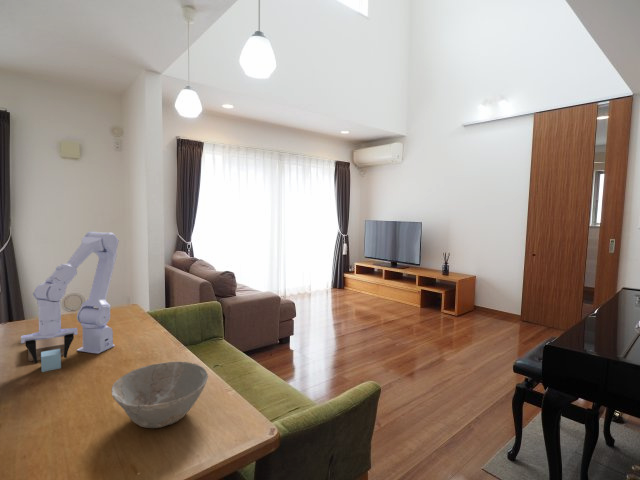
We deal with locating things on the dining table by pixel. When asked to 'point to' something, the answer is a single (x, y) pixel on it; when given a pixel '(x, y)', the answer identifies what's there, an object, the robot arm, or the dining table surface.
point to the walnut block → (47, 346)
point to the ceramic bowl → (159, 392)
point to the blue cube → (50, 360)
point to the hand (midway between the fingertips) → (50, 359)
